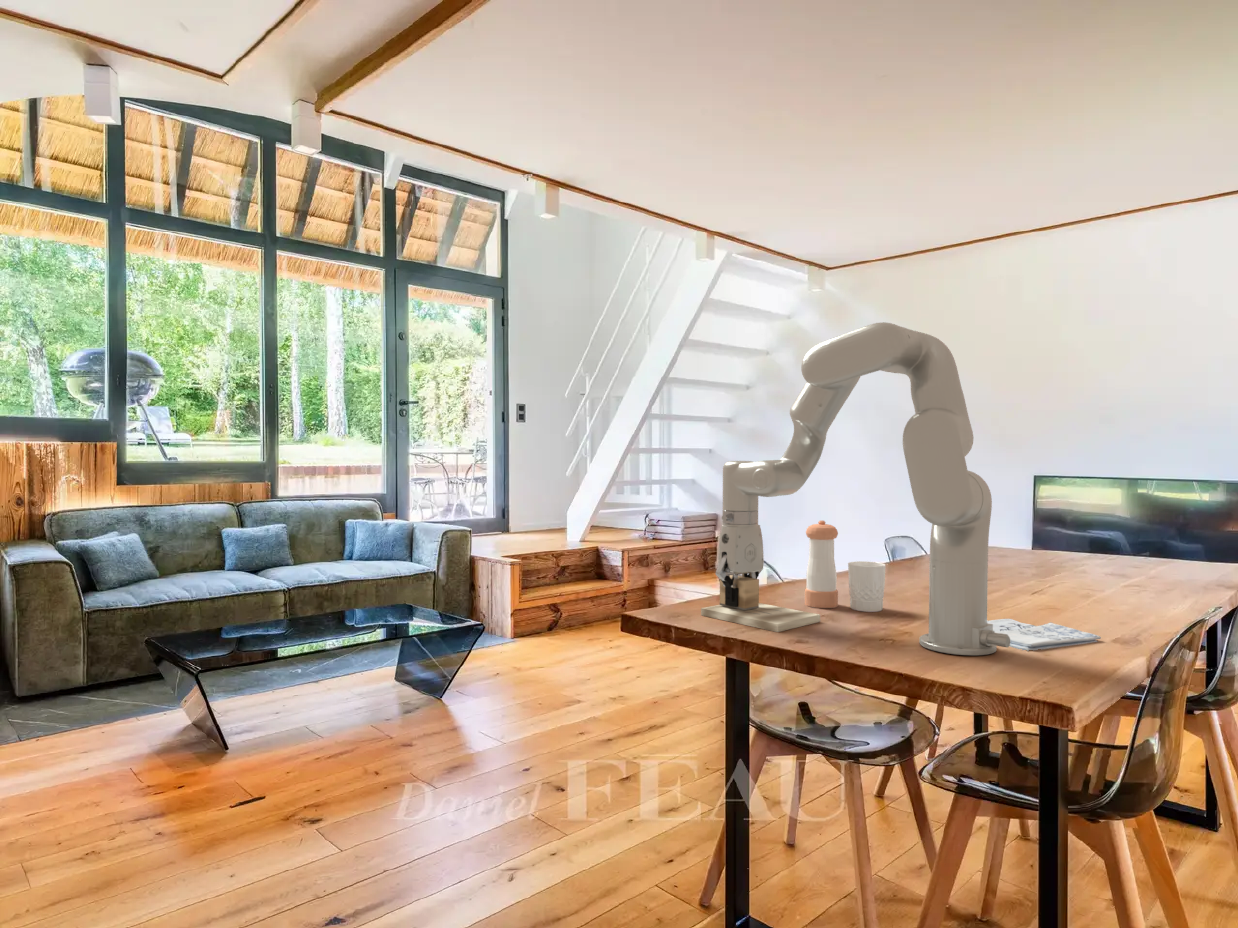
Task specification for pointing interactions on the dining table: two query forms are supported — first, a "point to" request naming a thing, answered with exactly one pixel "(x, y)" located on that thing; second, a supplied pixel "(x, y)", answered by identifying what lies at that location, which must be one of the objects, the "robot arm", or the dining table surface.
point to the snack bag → (1040, 635)
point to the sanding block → (743, 593)
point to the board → (763, 616)
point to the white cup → (866, 585)
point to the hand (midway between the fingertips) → (739, 603)
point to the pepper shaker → (821, 567)
